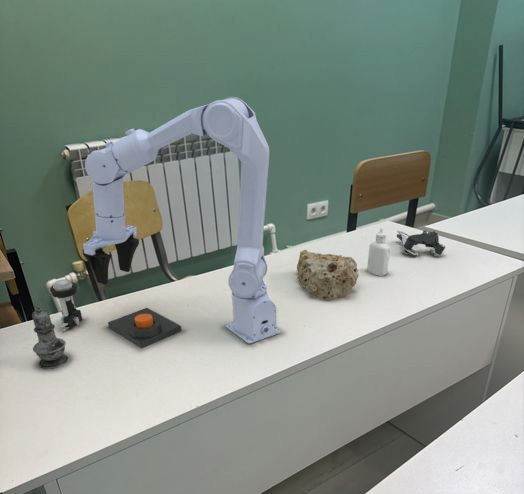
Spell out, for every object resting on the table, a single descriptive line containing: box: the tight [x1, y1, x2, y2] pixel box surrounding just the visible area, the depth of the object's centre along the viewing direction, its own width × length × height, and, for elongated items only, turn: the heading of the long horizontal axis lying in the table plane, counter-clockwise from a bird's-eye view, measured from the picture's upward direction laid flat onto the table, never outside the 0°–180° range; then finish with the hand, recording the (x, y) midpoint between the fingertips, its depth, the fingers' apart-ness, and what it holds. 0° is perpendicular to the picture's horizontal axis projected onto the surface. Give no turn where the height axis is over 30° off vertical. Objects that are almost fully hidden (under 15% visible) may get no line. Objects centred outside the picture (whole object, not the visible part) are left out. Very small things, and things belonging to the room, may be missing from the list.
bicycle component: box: [396, 230, 446, 257], centre depth 142 cm, size 12×7×15 cm
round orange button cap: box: [135, 314, 153, 328], centre depth 99 cm, size 4×4×2 cm
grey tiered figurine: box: [31, 305, 69, 370], centre depth 90 cm, size 6×6×12 cm
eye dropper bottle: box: [366, 228, 391, 277], centre depth 126 cm, size 4×6×12 cm
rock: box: [296, 249, 359, 301], centre depth 121 cm, size 21×14×10 cm
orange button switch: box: [107, 307, 182, 349], centre depth 103 cm, size 13×10×3 cm
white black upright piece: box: [49, 278, 83, 332], centre depth 103 cm, size 7×5×10 cm
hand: (113, 276), depth 102 cm, fingers open, 7 cm apart
